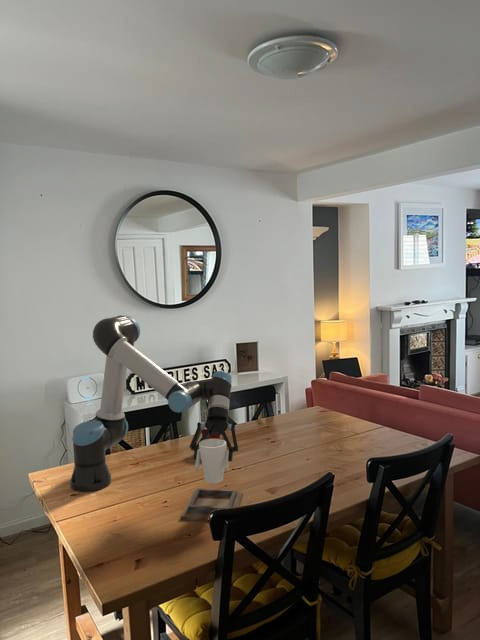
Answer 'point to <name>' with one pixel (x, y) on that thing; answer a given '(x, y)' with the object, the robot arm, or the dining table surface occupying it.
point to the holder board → (210, 502)
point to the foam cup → (213, 459)
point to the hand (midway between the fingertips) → (211, 469)
